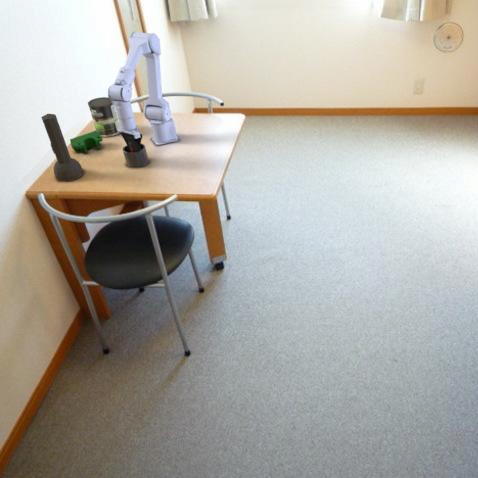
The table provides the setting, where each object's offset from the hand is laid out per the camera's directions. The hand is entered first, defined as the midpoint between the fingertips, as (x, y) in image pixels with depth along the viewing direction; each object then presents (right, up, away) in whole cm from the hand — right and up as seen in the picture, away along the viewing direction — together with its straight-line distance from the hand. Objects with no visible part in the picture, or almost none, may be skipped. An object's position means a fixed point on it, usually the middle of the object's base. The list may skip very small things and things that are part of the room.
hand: (134, 148), depth 192 cm
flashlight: (-23, -11, -4) cm, 26 cm away
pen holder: (0, -5, +4) cm, 6 cm away
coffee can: (-21, +12, +26) cm, 36 cm away
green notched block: (-24, +2, +13) cm, 27 cm away
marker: (0, -4, +3) cm, 6 cm away
